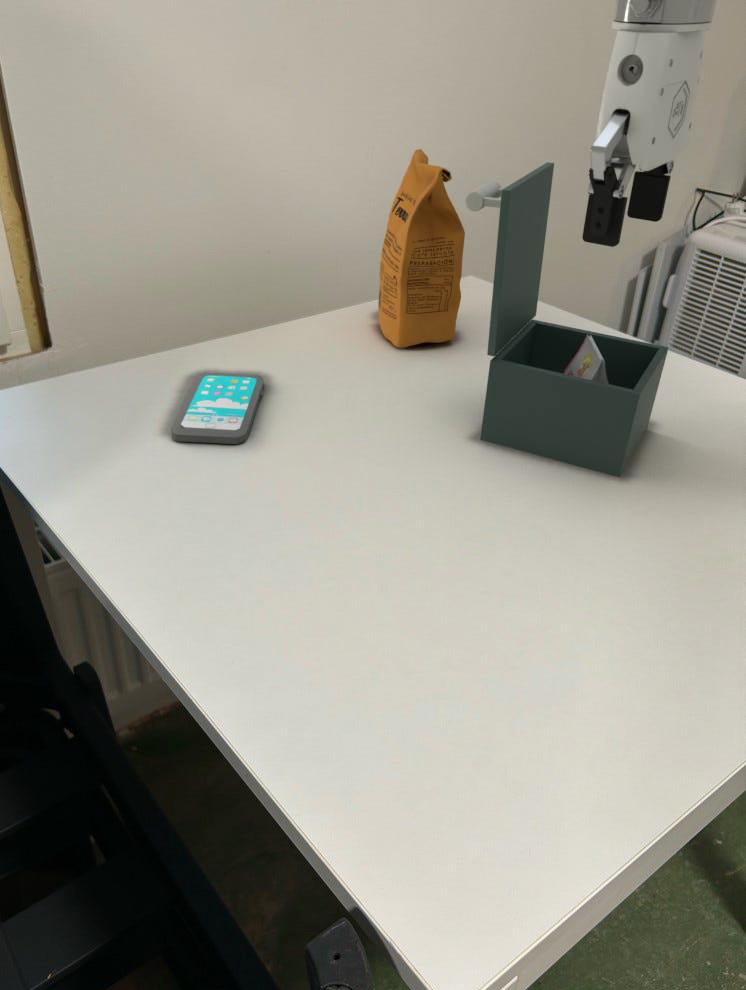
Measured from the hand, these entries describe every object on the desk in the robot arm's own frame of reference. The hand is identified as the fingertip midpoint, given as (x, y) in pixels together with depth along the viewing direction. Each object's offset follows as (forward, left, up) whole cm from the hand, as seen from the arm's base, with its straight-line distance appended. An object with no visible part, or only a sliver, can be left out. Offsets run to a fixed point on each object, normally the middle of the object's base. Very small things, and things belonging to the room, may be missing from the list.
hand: (622, 230), depth 75 cm
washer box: (+2, 0, -22) cm, 22 cm away
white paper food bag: (0, 0, -21) cm, 21 cm away
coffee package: (+31, -14, -22) cm, 40 cm away
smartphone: (+35, +19, -22) cm, 45 cm away
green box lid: (+9, +1, -4) cm, 10 cm away
